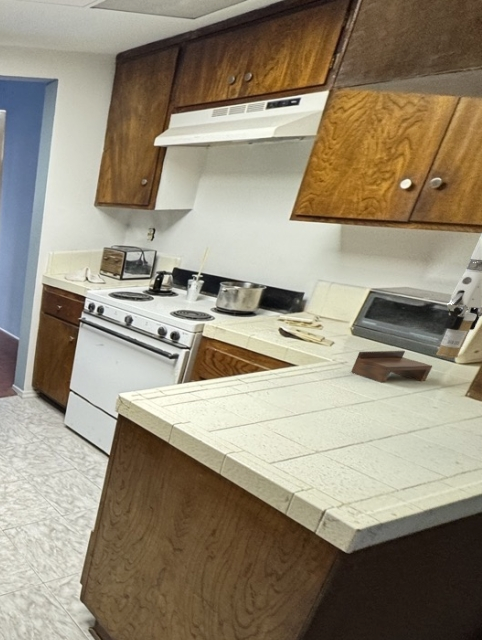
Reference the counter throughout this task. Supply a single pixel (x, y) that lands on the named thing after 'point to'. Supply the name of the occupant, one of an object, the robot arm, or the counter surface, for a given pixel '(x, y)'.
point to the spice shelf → (388, 366)
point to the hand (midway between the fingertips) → (458, 328)
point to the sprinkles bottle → (456, 337)
